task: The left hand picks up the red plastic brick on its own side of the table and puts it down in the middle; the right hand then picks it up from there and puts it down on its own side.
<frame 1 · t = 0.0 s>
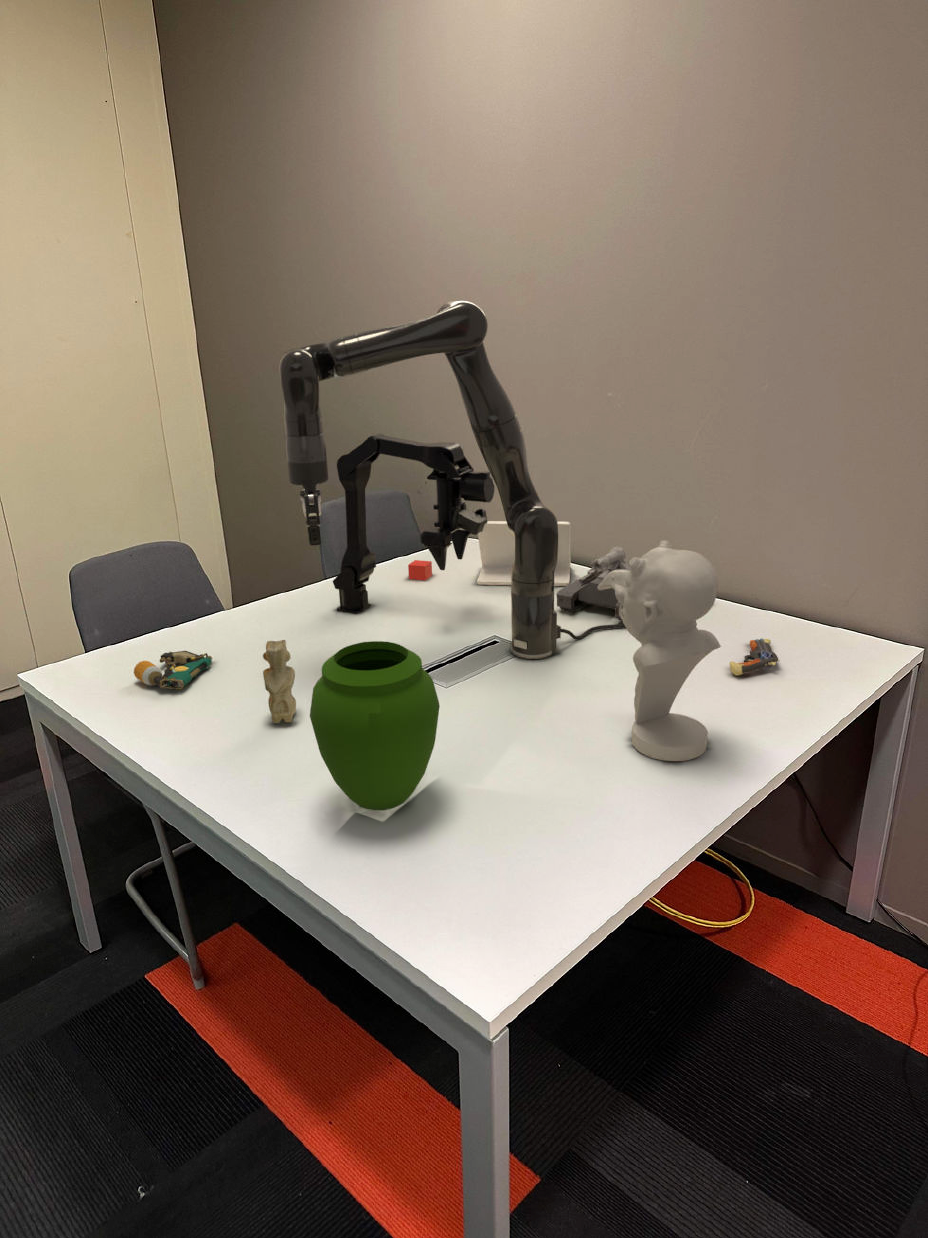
left hand: (451, 564, 201), 15 cm above the table, tool pointing down, fingers open, 9 cm apart
right hand: (314, 539, 170), 29 cm above the table, tool pointing down, fingers open, 8 cm apart
toy gun: (751, 661, 180), on the table
bust sculpture: (648, 738, 150), on the table
spray gun: (177, 676, 181), on the table
brick: (420, 577, 240), on the table
vase: (381, 798, 134), on the table
tablet stand: (525, 575, 239), on the table
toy: (615, 605, 214), on the table
sculpture: (283, 718, 161), on the table
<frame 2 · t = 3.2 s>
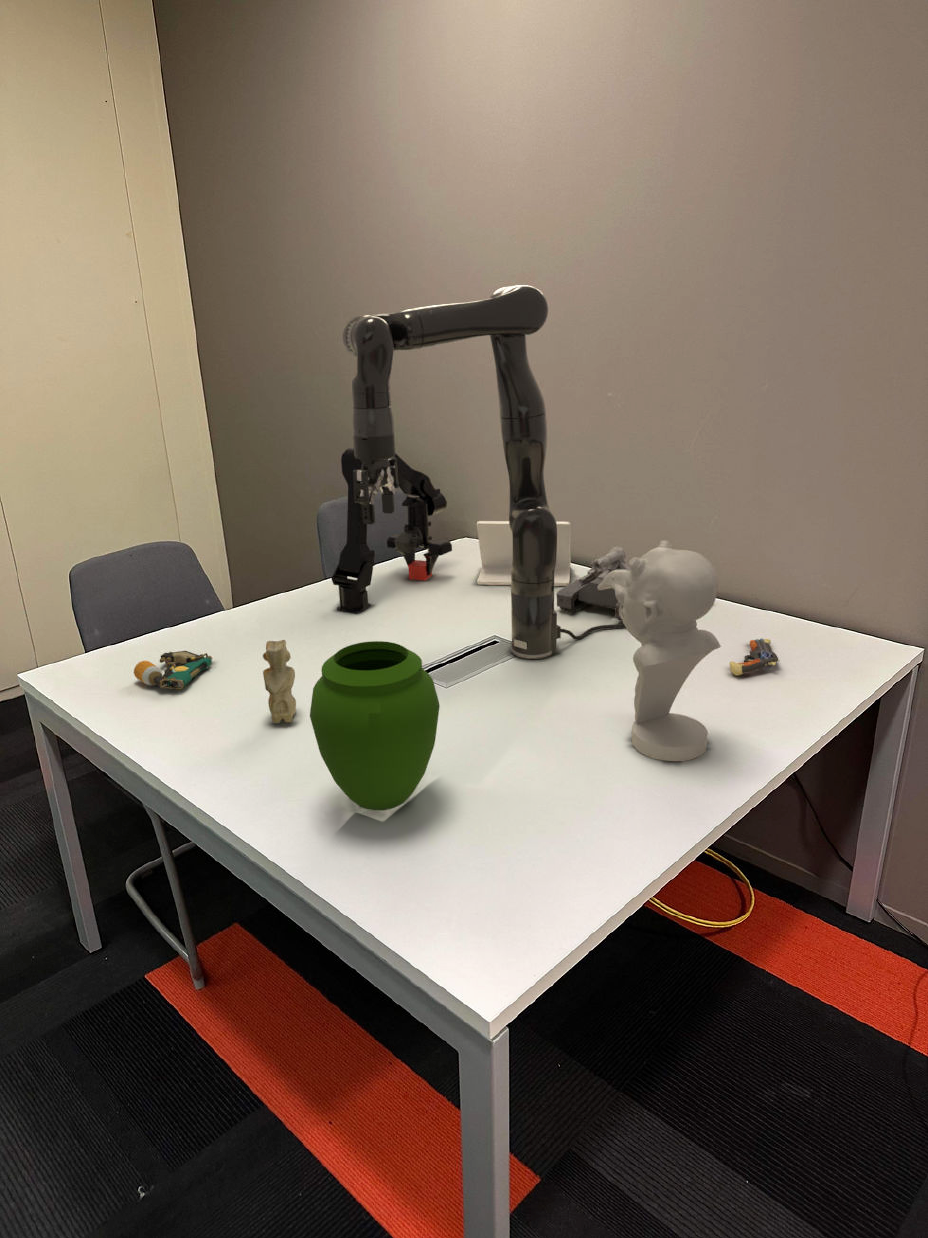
left hand: (420, 573, 240), 1 cm above the table, tool pointing down, fingers closed on brick, 5 cm apart
right hand: (379, 518, 162), 35 cm above the table, tool pointing down, fingers open, 8 cm apart
brick: (420, 577, 240), on the table, touching left hand
everything else where it was.
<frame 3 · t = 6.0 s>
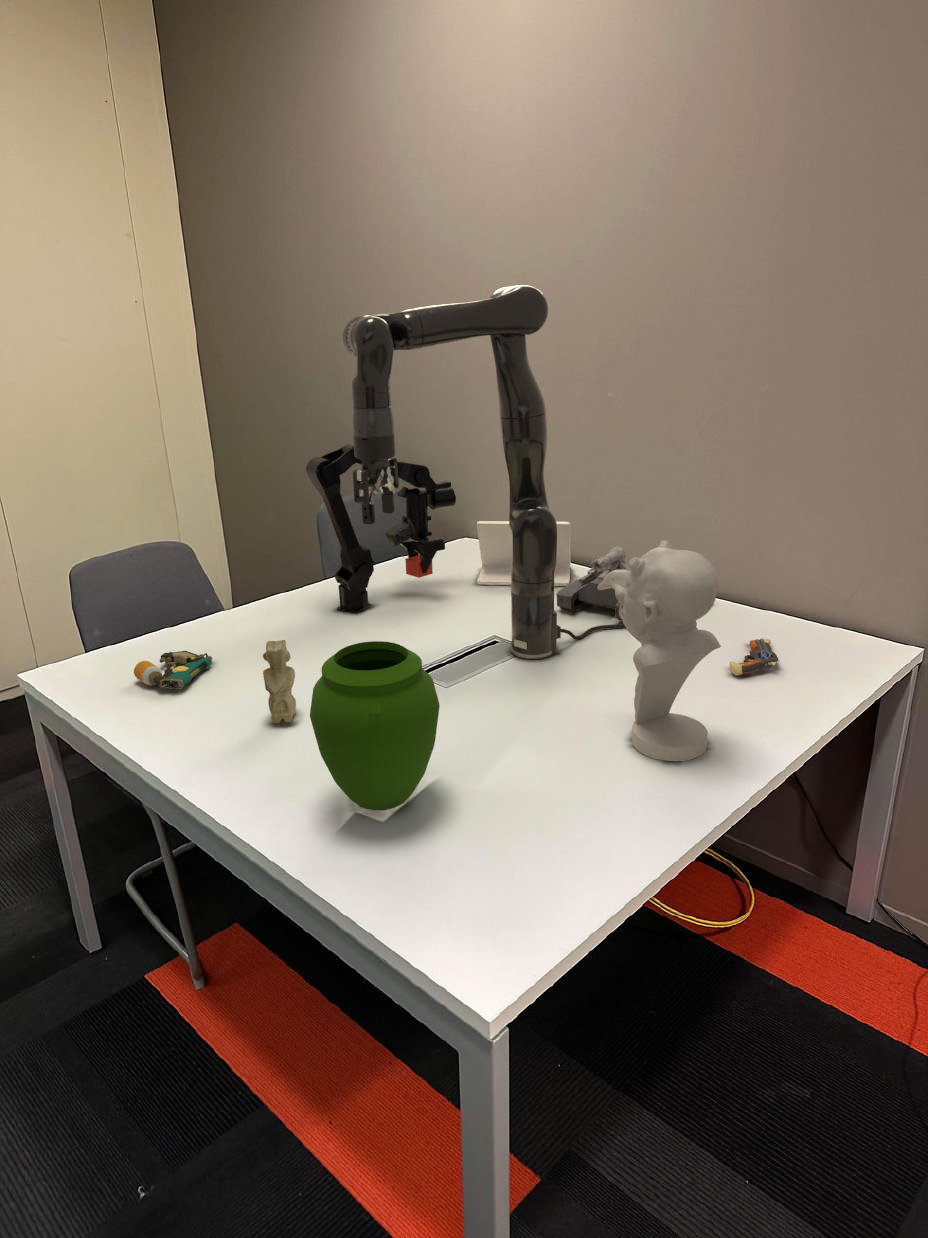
left hand: (419, 570, 225), 7 cm above the table, tool pointing down, fingers closed on brick, 5 cm apart
right hand: (379, 518, 162), 35 cm above the table, tool pointing down, fingers open, 8 cm apart
brick: (419, 573, 225), point 5 cm above the table, touching left hand
everything else where it was.
when the left hand's fingers open (2 cm above the table, at t = 9.2 s): brick drops 1 cm, on the table.
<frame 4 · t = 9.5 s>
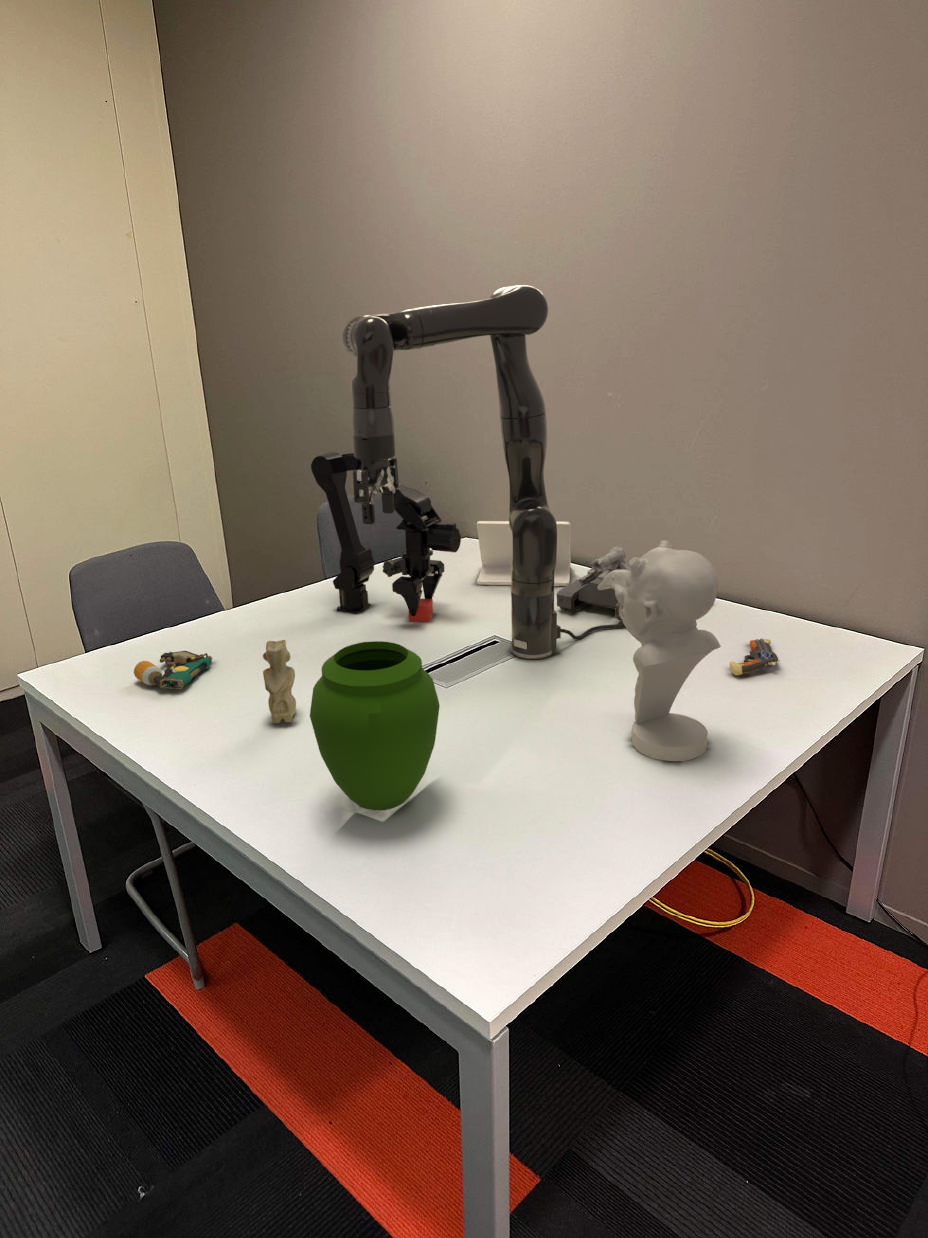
left hand: (420, 609, 209), 2 cm above the table, tool pointing down, fingers open, 9 cm apart
right hand: (379, 518, 162), 35 cm above the table, tool pointing down, fingers open, 8 cm apart
brick: (421, 617, 210), on the table
everything else where it was.
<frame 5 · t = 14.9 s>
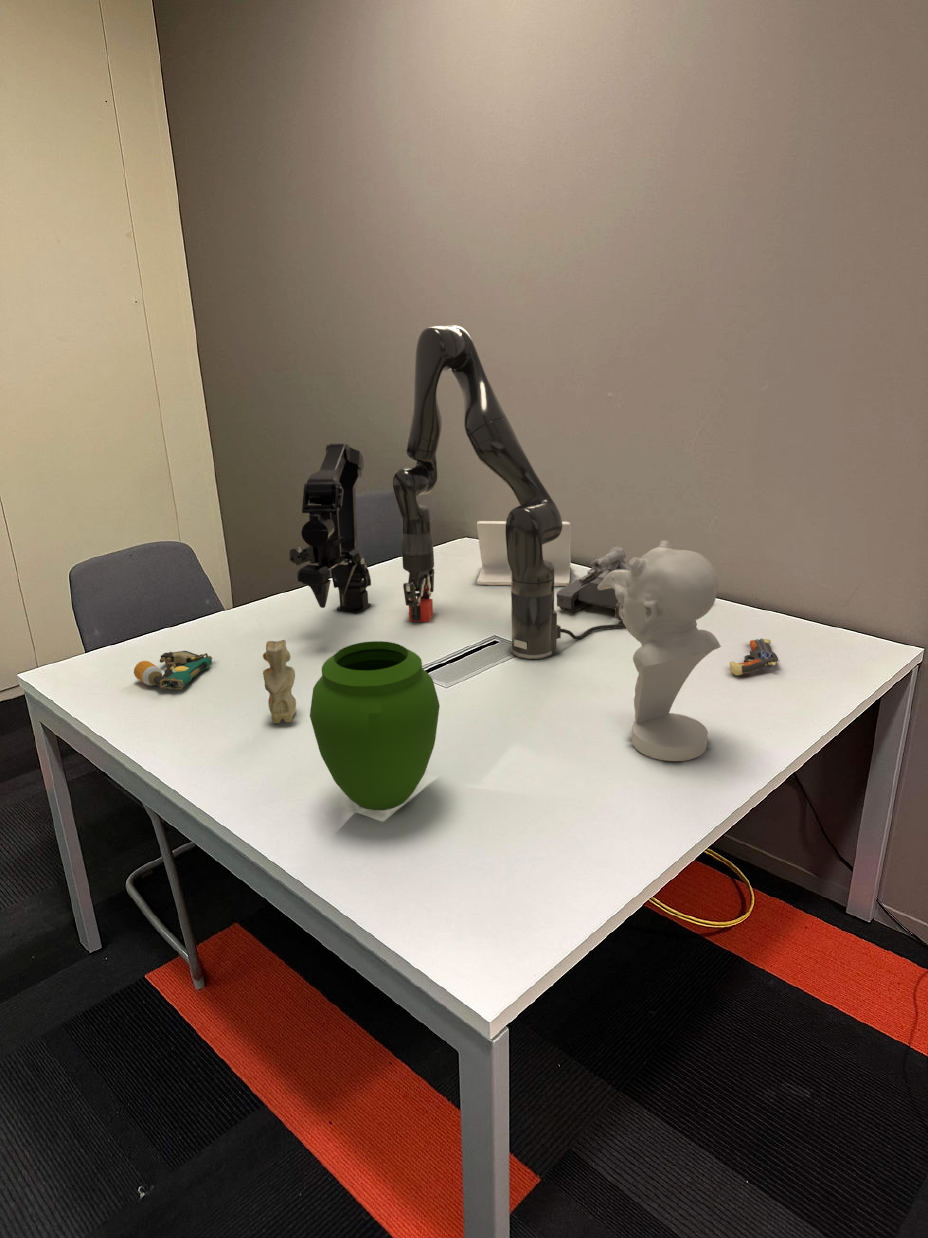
left hand: (332, 600, 194), 10 cm above the table, tool pointing down, fingers open, 9 cm apart
right hand: (420, 615, 210), 1 cm above the table, tool pointing down, fingers closed on brick, 5 cm apart
brick: (421, 617, 210), on the table, touching right hand
everything else where it was.
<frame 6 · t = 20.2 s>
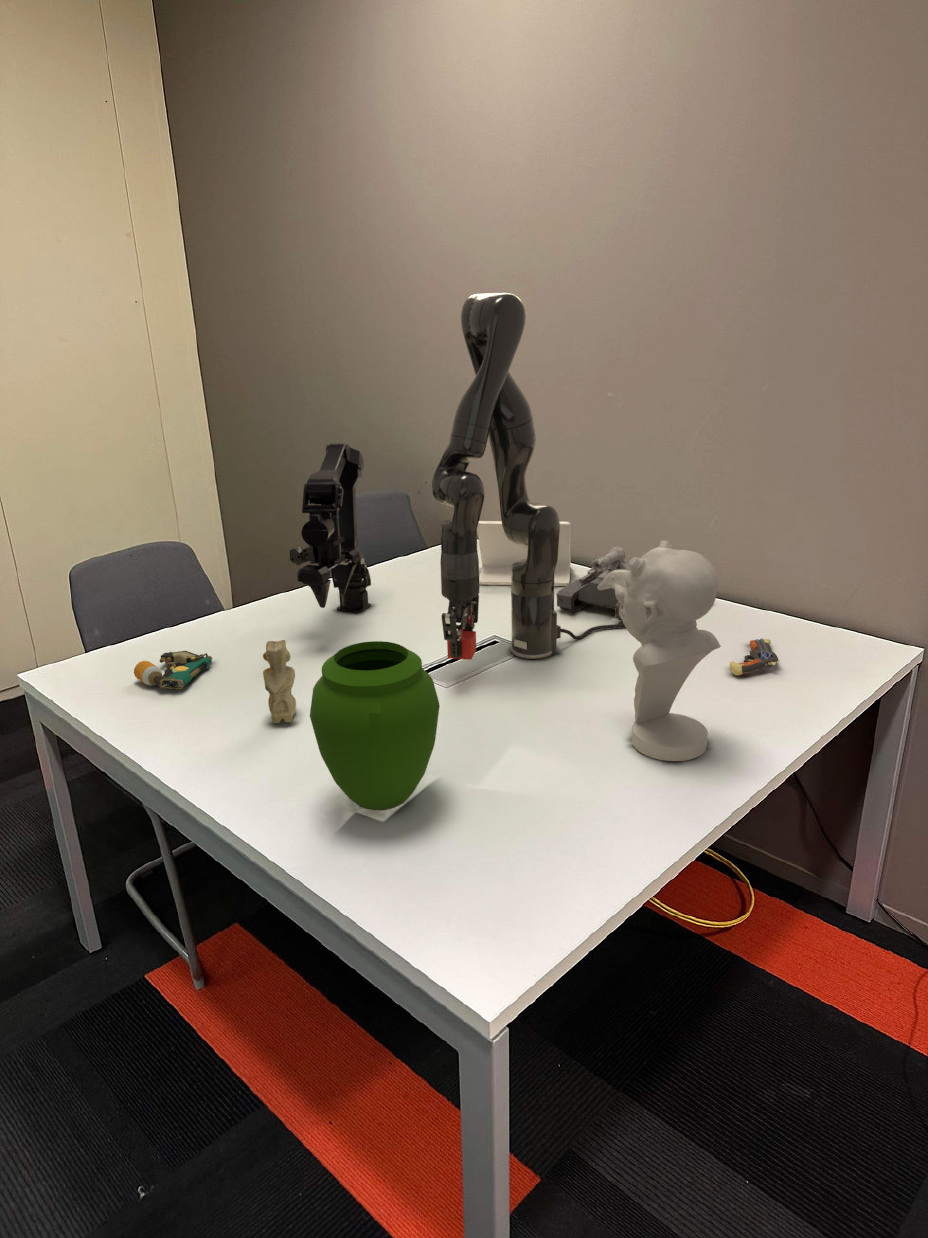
left hand: (332, 600, 194), 10 cm above the table, tool pointing down, fingers open, 9 cm apart
right hand: (462, 651, 173), 6 cm above the table, tool pointing down, fingers closed on brick, 5 cm apart
brick: (462, 654, 173), point 6 cm above the table, touching right hand
everything else where it was.
when the right hand's fingers open (2 cm above the table, at t = 25.7 s): brick drops 1 cm, on the table.
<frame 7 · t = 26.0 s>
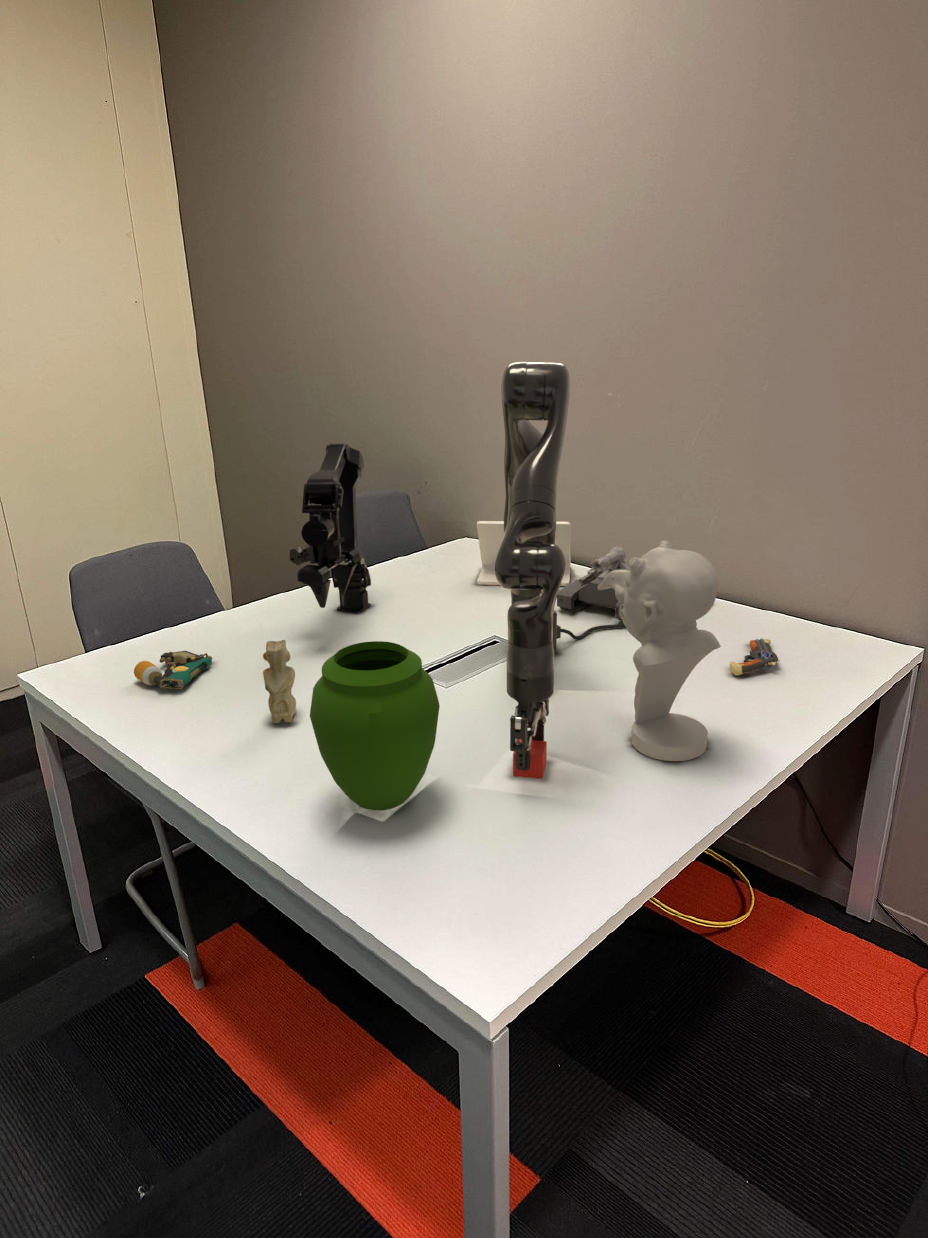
left hand: (332, 600, 194), 10 cm above the table, tool pointing down, fingers open, 9 cm apart
right hand: (530, 756, 140), 3 cm above the table, tool pointing down, fingers open, 8 cm apart
brick: (530, 769, 141), on the table
everything else where it was.
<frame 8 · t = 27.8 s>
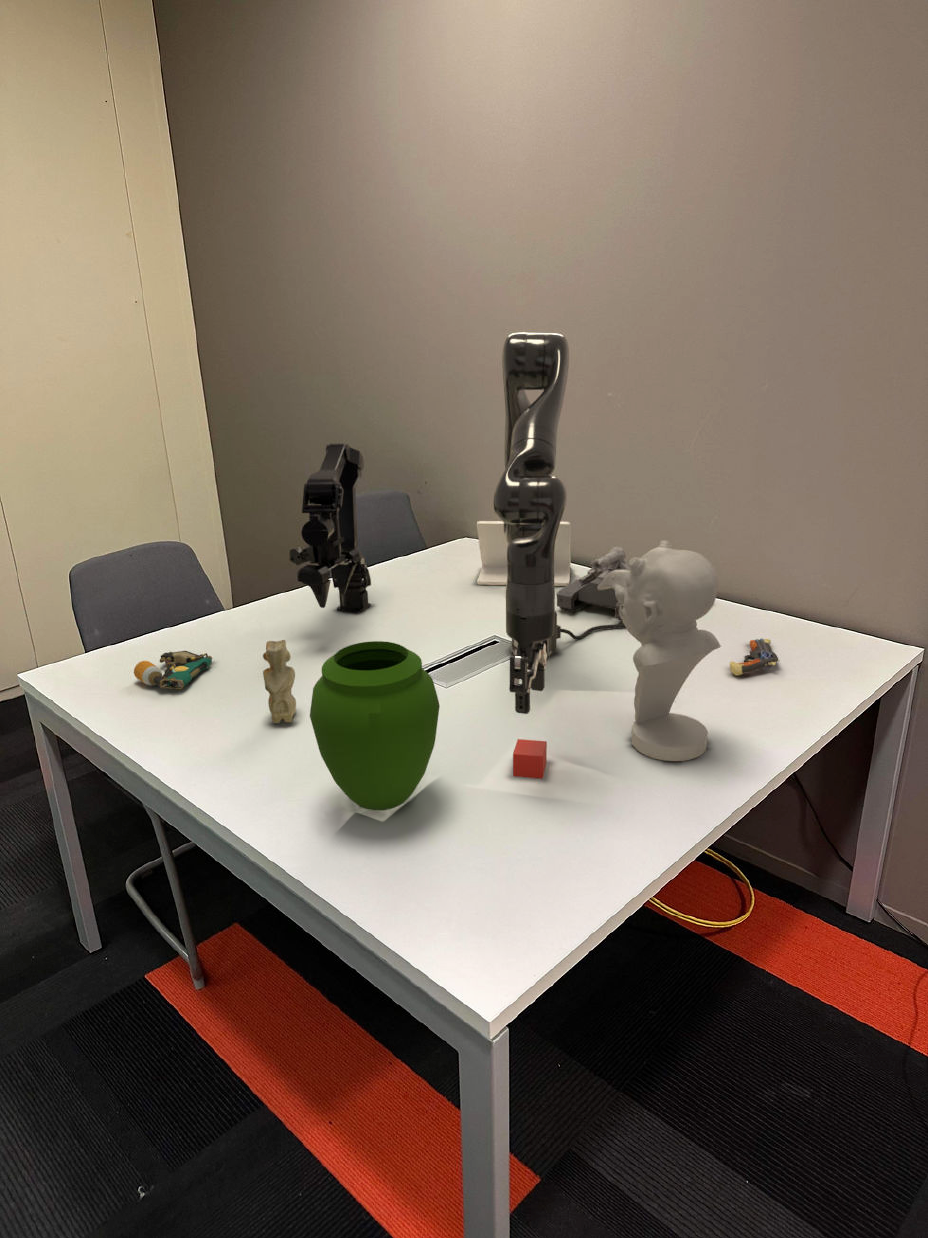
left hand: (332, 600, 194), 10 cm above the table, tool pointing down, fingers open, 9 cm apart
right hand: (530, 700, 137), 13 cm above the table, tool pointing down, fingers open, 8 cm apart
nothing on the table moved.
at the end: brick inside the target area (0.1 cm from its centre), on the table; brick tilted 0°; the two hands never held the brick at the same time; the left hand is holding nothing; the right hand is holding nothing; brick at rest at the end (0.0 cm/s) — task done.
